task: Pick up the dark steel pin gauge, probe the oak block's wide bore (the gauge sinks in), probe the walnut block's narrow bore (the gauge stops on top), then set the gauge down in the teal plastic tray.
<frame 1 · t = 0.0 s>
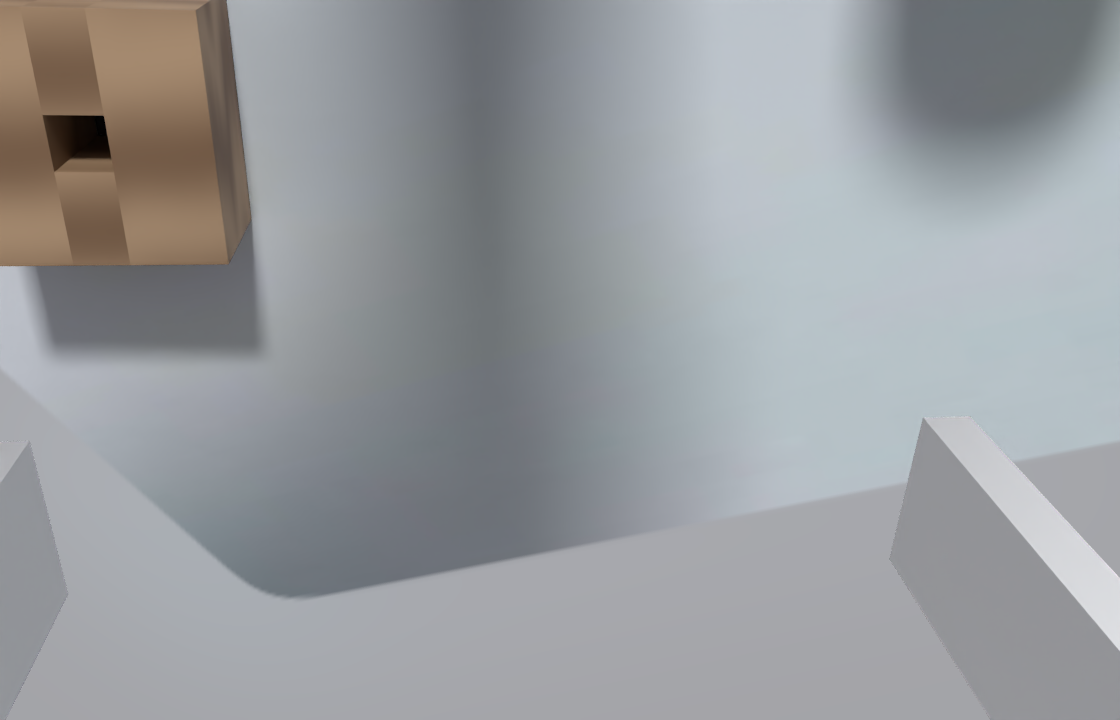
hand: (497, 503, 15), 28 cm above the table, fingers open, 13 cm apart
walnut block narrow bore: (120, 109, 38), on the table
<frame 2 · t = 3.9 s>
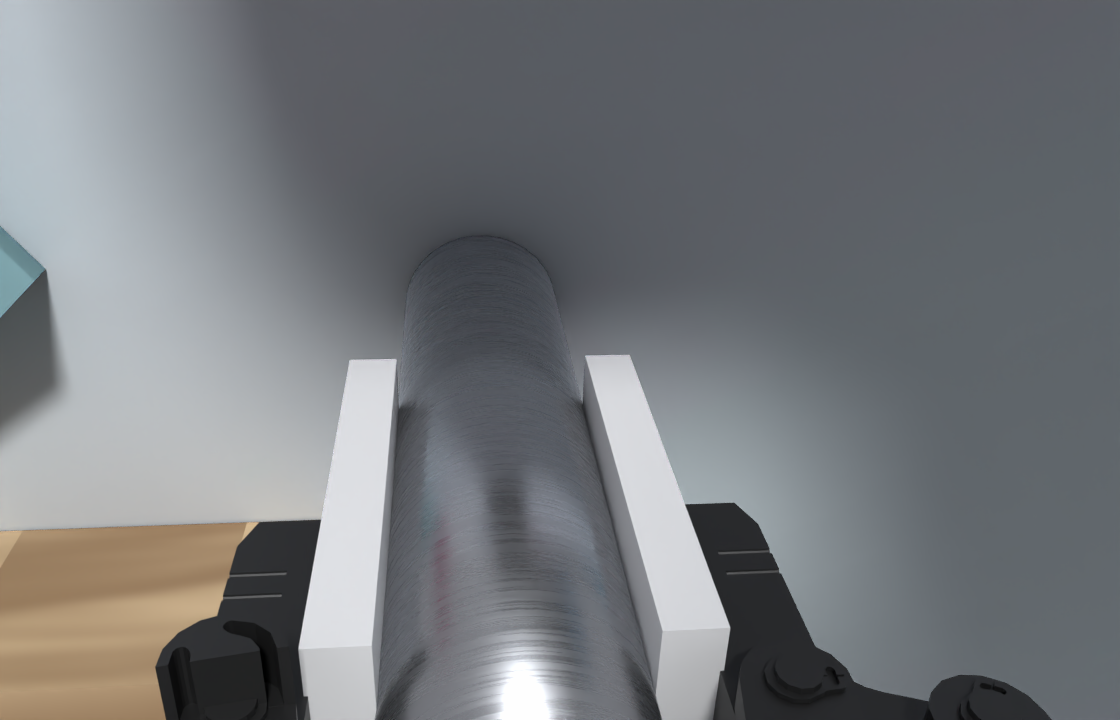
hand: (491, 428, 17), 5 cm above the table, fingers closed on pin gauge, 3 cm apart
pin gauge: (481, 305, 21), on the table, touching gripper
oak block wide bore: (165, 670, 25), on the table
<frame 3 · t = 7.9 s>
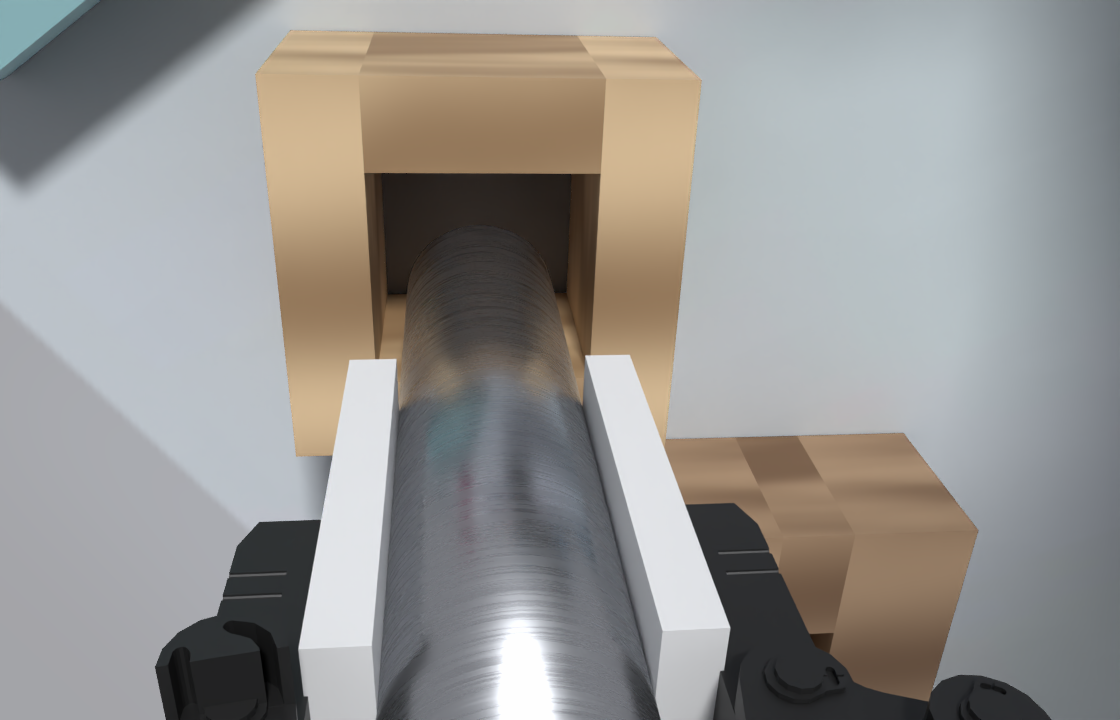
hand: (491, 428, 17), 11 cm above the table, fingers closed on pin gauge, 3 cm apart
walnut block narrow bore: (748, 550, 33), on the table
pin gauge: (480, 293, 22), point 5 cm above the table, touching gripper
oak block wide bore: (477, 208, 26), on the table
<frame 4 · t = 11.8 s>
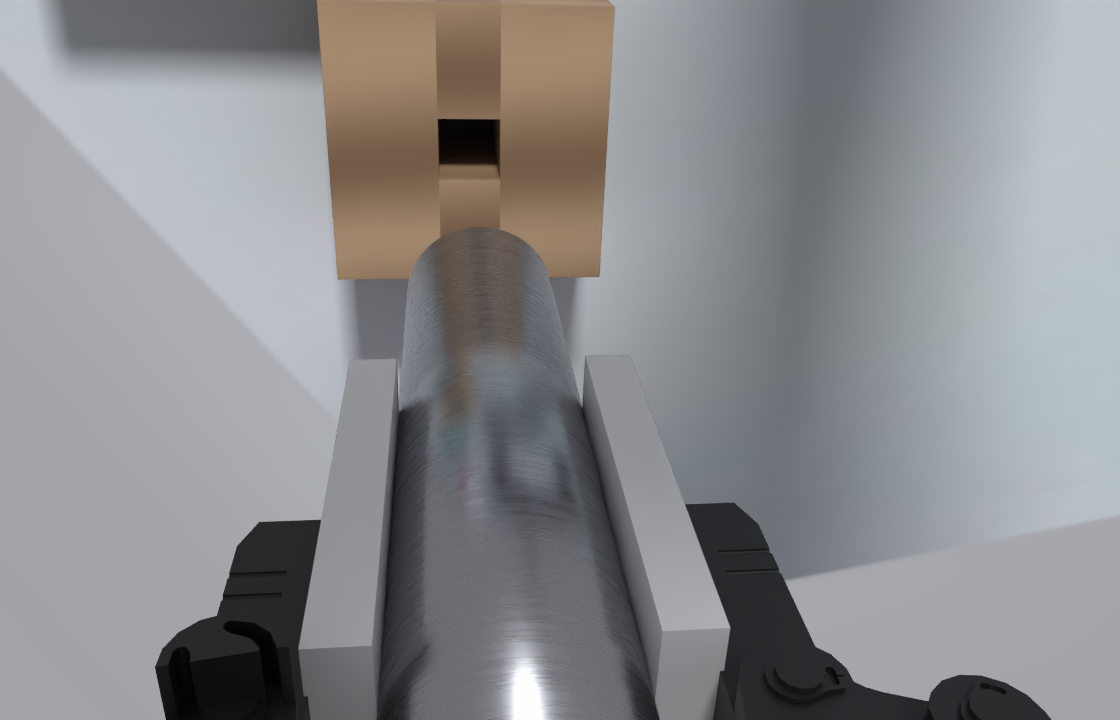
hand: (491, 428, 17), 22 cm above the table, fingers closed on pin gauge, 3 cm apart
walnut block narrow bore: (466, 112, 36), on the table
pin gauge: (479, 295, 22), point 16 cm above the table, touching gripper
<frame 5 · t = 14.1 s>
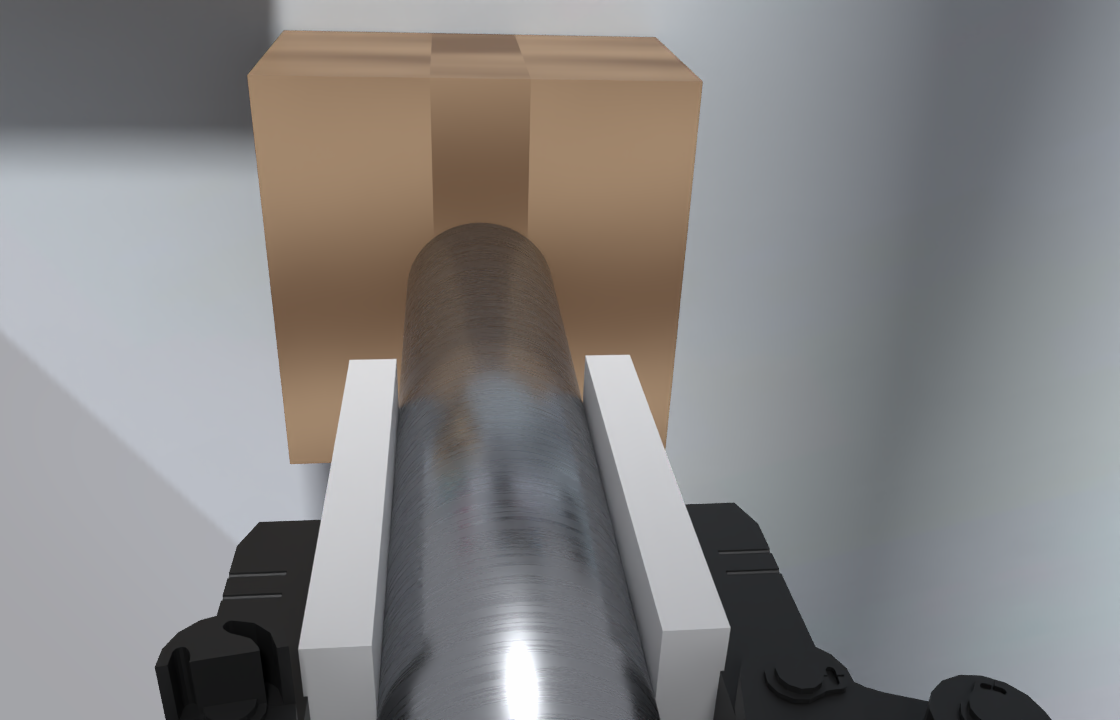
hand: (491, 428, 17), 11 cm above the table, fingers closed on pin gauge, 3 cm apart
walnut block narrow bore: (474, 210, 26), on the table
pin gauge: (480, 291, 22), point 5 cm above the table, touching gripper, walnut block narrow bore
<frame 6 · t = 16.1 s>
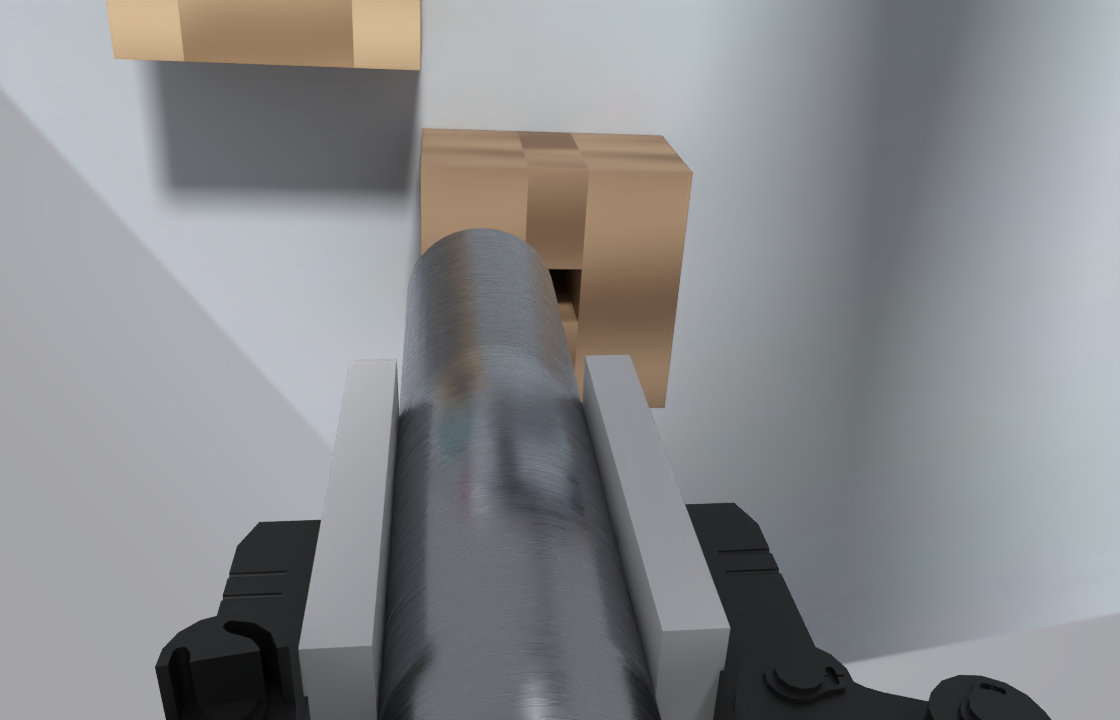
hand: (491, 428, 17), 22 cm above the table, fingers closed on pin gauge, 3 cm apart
walnut block narrow bore: (538, 246, 39), on the table
pin gauge: (481, 296, 22), point 16 cm above the table, touching gripper
when the fingers open (7 cm above the table, at t = 20.1 s): pin gauge stays where it is, resting on teal tray.
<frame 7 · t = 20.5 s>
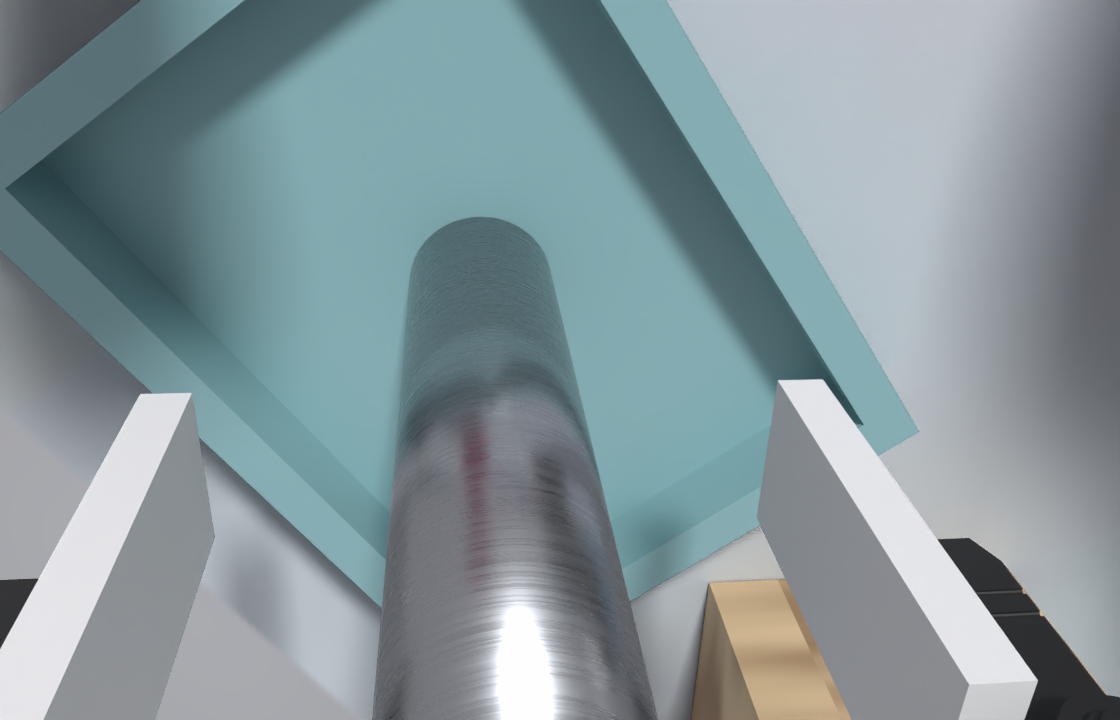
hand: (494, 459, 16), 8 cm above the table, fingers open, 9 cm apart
pin gauge: (481, 283, 22), point 1 cm above the table, touching teal tray
teal tray: (478, 274, 23), on the table
oak block wide bore: (835, 690, 30), on the table
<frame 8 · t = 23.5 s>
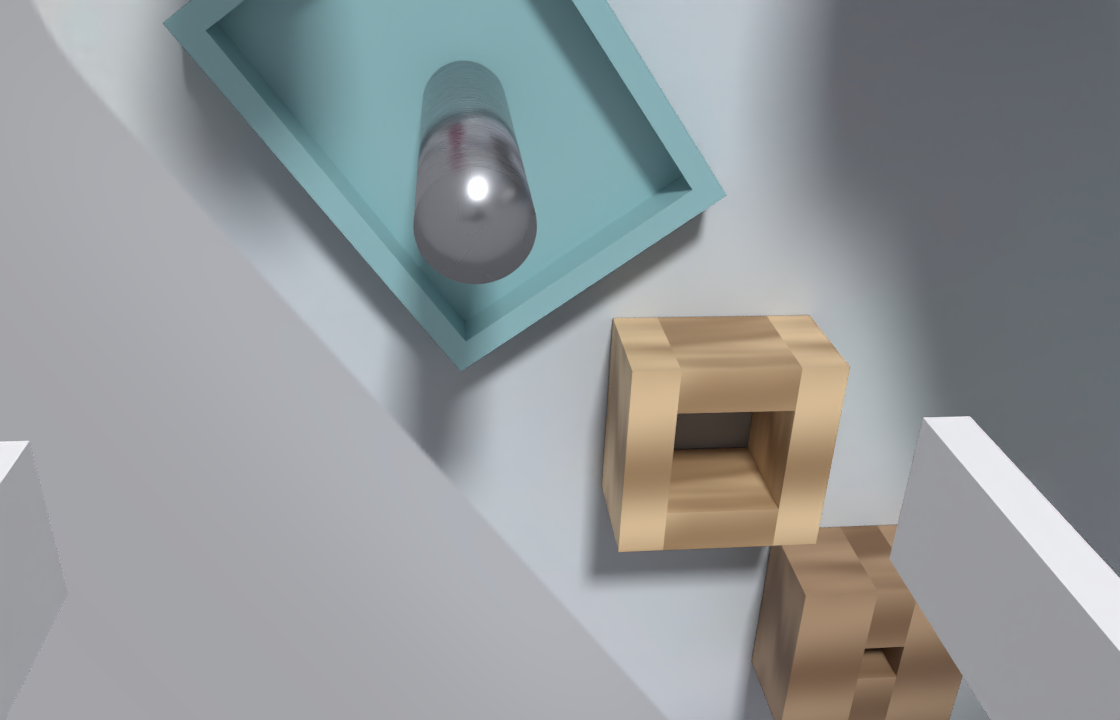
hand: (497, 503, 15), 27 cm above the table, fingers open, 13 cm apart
walnut block narrow bore: (844, 594, 53), on the table
pin gauge: (464, 103, 38), point 1 cm above the table, touching teal tray
teal tray: (463, 99, 38), on the table
oak block wide bore: (702, 403, 46), on the table
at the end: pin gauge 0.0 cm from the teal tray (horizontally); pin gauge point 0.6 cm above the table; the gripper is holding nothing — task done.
